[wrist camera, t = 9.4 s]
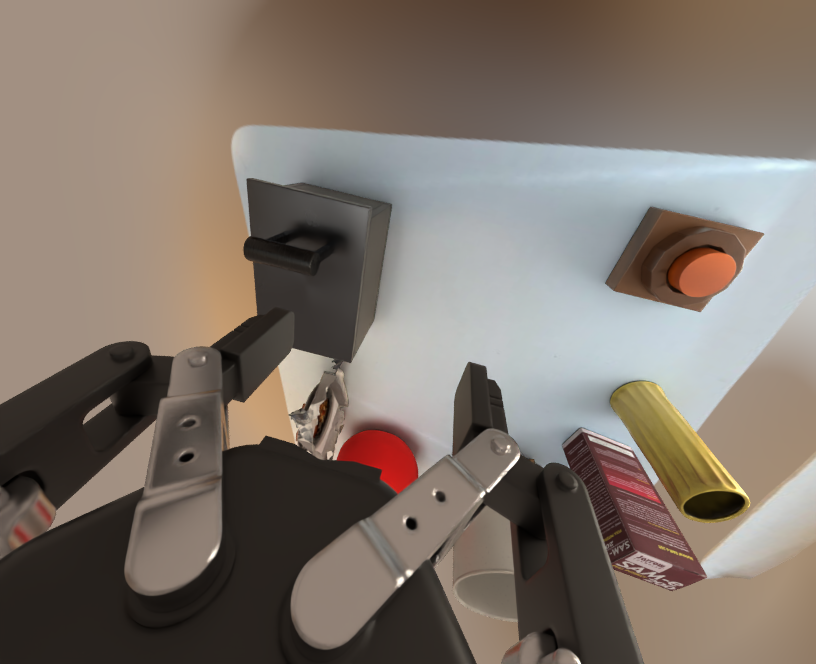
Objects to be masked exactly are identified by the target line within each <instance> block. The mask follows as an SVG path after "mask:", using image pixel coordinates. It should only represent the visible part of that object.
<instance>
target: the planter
mask: <svg viewBox="0 0 816 664" xmlns="http://www.w3.org/2000/svg"><path fill="white" fill-rule="evenodd" d="M529 460H530V461H532V462H534V463H535V461H534V459H529ZM453 594H454V596H455V598H456V599H457V600H458V601H459V602H460V603H461V604H462V605H463V606H465V607H467V608H468V609H470V610H472V611H474V612H477V613H479V614H482V615H485V616H488V617H492V618H495V619H500V620H505V621H513V622H518V618H517V605H516V592H515V579H514V567H513V554H512V541H511V528H510V520H508V519H506V518H505V517H503V516H502V515H500V514H499V513H497V512H496V511H494V510H493V509H491V508H489V507H488V506H486V507H485V508H484V510H483V511H482V512H481V513H480V514H479V515H478V517H477V518H476V519H475V520H474V521H473V522H472V524H471V525H470V526H469V527H468V528H467V529H466V531H465V532H464V533H463V534H462V535H461V536H460V538H459V539H458V540H457V541H456V543H455V544H454V545H453Z"/></svg>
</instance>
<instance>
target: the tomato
mask: <svg viewBox="0 0 816 664" xmlns="http://www.w3.org/2000/svg"><path fill="white" fill-rule="evenodd" d="M337 460H338V461H354V462H358V463H361V464H365V465H368V466H372V467H375V468H378V469H382V473H381V477H380V479H381V480H382V481H384V482H385V483H387V484H388V485H389V486H390V487H392V488H393V489H394V490H395V491H396V492H397V494H399V493H400V492H401V491H402V490H404V489H405V488H406V487H407V486H409V485H410V484H411V483H412V482H414V481H415V480H416V479H417V478H418V467H417V462H416V460H415V457H414V455H413V453H412V452H411V450H410V448H409V447H408V446H407V445H406V444H405V442H404V441H403V440H401V439H400V438H399V437H397V436H395V435H393V434H391V433H388V432H384V431H379V430H366V431H362V432H360V433H358V434H355V435H353V436H352V437H351V438H349V439H348V440H347V441H346V442H345V443H344V444H343V446H342V447H341V449H340V452H339V454H338V457H337Z"/></svg>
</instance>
